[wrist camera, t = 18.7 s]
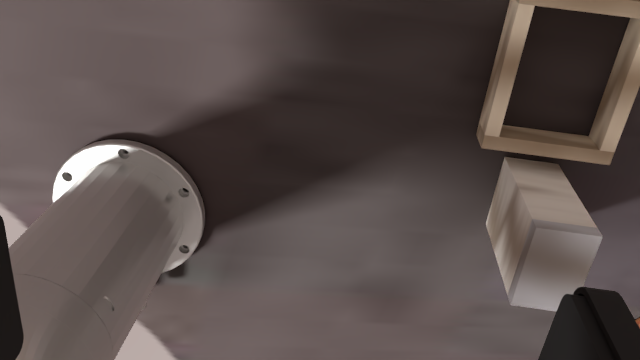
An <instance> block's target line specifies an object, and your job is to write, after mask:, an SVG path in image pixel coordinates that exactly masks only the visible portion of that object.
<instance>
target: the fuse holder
mask: <svg viewBox="0 0 640 360" xmlns="http://www.w3.org/2000/svg"><path fill="white" fill-rule="evenodd" d="M535 6H541V7H549V8H557V9H565V10H573V11H581V12H589V13H597V14H605V15H613V16H621V17H629V18H630V20H629V23H628V26H627V29H626V31H625V34H624V37H623V40H622V43H621V46H620V48H619V51H618V54H617V57H616V60H615V63H614V65H613V68H612V71H611V74H610V77H609V80H608V83H607V85H606V88H605V91H604V94H603V97H602V100H601V102H600V105H599V108H598V111H597V114H596V117H595V119H594V122H593V125H592V128H591V131H590V134H589V136H584V135H576V134H569V133H561V132H553V131H546V130H538V129H531V128H523V127H515V126H508V125H502V124H503V121H504V117H505V113H506V110H507V106H508V102H509V99H510V95H511V91H512V88H513V84H514V81H515V77H516V73H517V70H518V66H519V62H520V59H521V55H522V51H523V48H524V44H525V40H526V37H527V33H528V29H529V26H530V22H531V18H532V15H533V11H534V7H535ZM639 87H640V0H510V2H509V6H508V10H507V14H506V18H505V22H504V26H503V30H502V34H501V38H500V42H499V46H498V50H497V53H496V57H495V61H494V65H493V69H492V73H491V77H490V81H489V85H488V89H487V93H486V97H485V101H484V105H483V109H482V113H481V117H480V121H479V125H478V129H477V133H476V135H477V138H478V141H479V143H480V146H481V148H484V149H492V150H499V151H507V152H514V153H522V154H529V155H537V156H544V157H552V158H559V159H567V160H574V161H582V162H589V163H597V164H605V165H610V163H611V160H612V158H613V155H614V152H615V150H616V147H617V145H618V142H619V139H620V137H621V134H622V131H623V129H624V126H625V124H626V121H627V118H628V116H629V113H630V110H631V108H632V105H633V103H634V100H635V97H636V95H637V92H638V89H639ZM486 226H487V230H488V233H489V236H490V239H491V243H492V246H493V249H494V253H495V256H496V259H497V262H498V266H499V269H500V272H501V276H502V279H503V282H504V285H505V289H506V292H507V295H508V299H509V302H510V305H514V306H522V307H529V308H536V309H543V310H550V311H557V309H558V307H559V304H560V301H561V299H562V297H563V296H564V295H565V294H573V293H574V291H575V290H576V289H577V288H578V287H583V285H584V283H585V280H586V278H587V275H588V273H589V270H590V268H591V265H592V263H593V260H594V258H595V255H596V253H597V250H598V248H599V245H600V243H601V240H602V238H603V236H602V235H601V233H600V231H599V230H598V228H597V226H596V225H595V223H594V222H593V220H592V218H591V217H590V215H589V213H588V212H587V210H586V209H585V207H584V205H583V204H582V202H581V201H580V199H579V197H578V196H577V194H576V192H575V191H574V189H573V188H572V186H571V184H570V183H569V181H568V179H567V178H566V176H565V175H564V173H563V171H562V170H561V168H560V166H559V165H558V164H555V163H548V162H540V161H533V160H525V159H518V158H510V157H504V161H503V164H502V168H501V171H500V175H499V179H498V182H497V186H496V189H495V193H494V196H493V200H492V203H491V207H490V210H489V214H488V217H487V221H486Z"/></svg>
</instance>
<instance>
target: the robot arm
mask: <svg viewBox="0 0 640 360" xmlns="http://www.w3.org/2000/svg"><path fill="white" fill-rule="evenodd" d="M126 150H127V151H126ZM185 188H186V189H185ZM52 198H53V204H52V205H51V206H50V207H49V208H48V209H47V210H46V211H45V212H44V213H43V214H42V215H41V216H40V217H39V218H38V219H37V220H36V221H35V222H34V223H33V224H32V225H31V226H30V227H29V228H28V229H27V230H26V231H25V232H24V233H23V234H22V235H21V236H20V237H19V238H18V239H17V240H16V241H15V242H14V243H13V244H12V245H11V246H10V247H9V248H8V243H7V238H6V232H5V226H4V222H3V219H2V217H1V216H0V360H114V359H115V358H116V356H117V354H118V352H119V350H120V348H121V347H122V345H123V343H124V341H125V339H126V337H127V336H128V334H129V332H130V330H131V328H132V326H133V324H134V323H135V321H136V319H137V317H138V315H139V313H140V312H141V310H143V309H144V308H145V307H146V305H147V299H148V297H149V295H150V293H151V291H152V290H153V288H154V286H155V284H156V282H157V280H158V279H159V277H160V275H161V273H163V272H166V271H169V270H172V269H174V268H176V267H177V266H179V265H181V264H182V263H184V262H185V261H186V260H187V259H188V258H189V257H190V256H191V255H192V253H193V252H194V251H195V249H196V248H197V246H198V244H199V242H200V240H201V237H202V235H203V231H204V227H205V209H204V204H203V200H202V197H201V195H200V193H199V190H198V188H197V186H196V185H195V183H194V182H193V180H192V178H191V177H190V175H189V174H188V173H187V172H186V171H185V170H184V169H183V168H182V167H181V166H180V165H179V164H178V163H177V162H176V161H174V160H173V159H172V158H170V157H169V156H168V155H166V154H164V153H163V152H161V151H159V150H157V149H155V148H154V147H151V146H148V145H145V144H142V143H140V142H135V141H129V140H122V139H109V140H104V141H98V142H94V143H92V144H90V145H87V146H85V147H83V148H81V149H80V150H79V151H77V152H76V153H74V154H73V155H72V156H71V157H70V158H69V159H68V160H67V161H66V162H65V163H64V164H63V165H62V167H61V168H60V170H59V171H58V173H57V176H56V179H55V182H54V185H53V195H52ZM538 360H640V328H639V326H638V324H637V323H636V321H635V319H634V317H633V316H632V314H631V312H630V311H629V309H628V307H627V305H626V304H625V302H624V300H623V298H622V297H621V296H620V294H619V293H617V292H615V291H609V290H602V289H595V288H587V287H578V288H577V289H576V290H575V291H574V293H573V294H565V295H564V296H563V297H562V299H561V301H560V304H559V307H558V309H557V312H556V315H555V317H554V320H553V322H552V325H551V328H550V330H549V333H548V335H547V338H546V341H545V343H544V346H543V348H542V351H541V354H540V356H539V359H538Z"/></svg>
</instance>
